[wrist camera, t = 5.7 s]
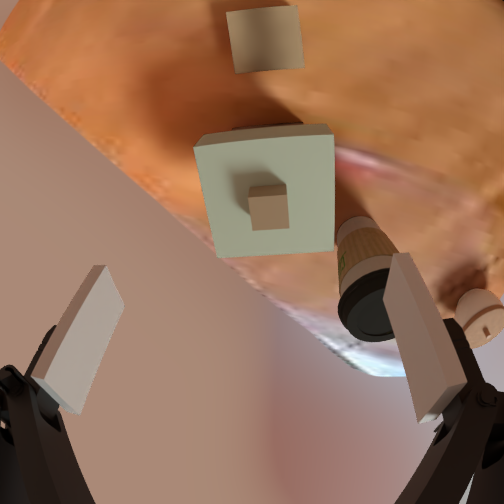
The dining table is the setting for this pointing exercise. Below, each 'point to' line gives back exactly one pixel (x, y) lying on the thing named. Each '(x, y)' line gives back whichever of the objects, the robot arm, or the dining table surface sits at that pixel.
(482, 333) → the lidded jar
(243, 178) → the lid
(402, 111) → the dining table surface
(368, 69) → the dining table surface
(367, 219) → the coffee cup
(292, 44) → the oak stand
